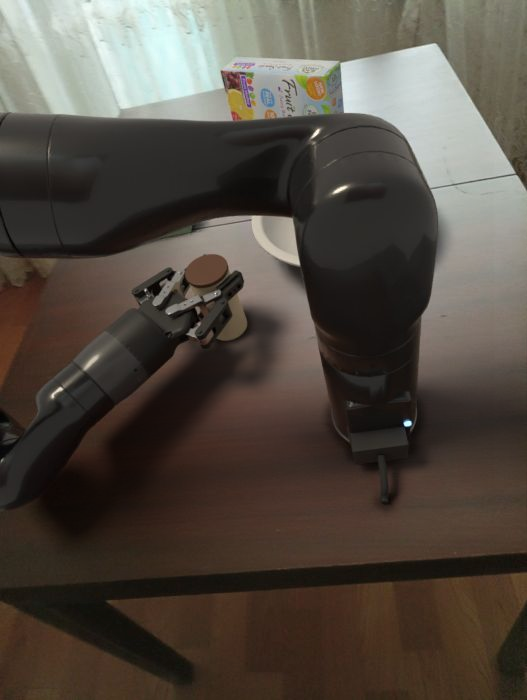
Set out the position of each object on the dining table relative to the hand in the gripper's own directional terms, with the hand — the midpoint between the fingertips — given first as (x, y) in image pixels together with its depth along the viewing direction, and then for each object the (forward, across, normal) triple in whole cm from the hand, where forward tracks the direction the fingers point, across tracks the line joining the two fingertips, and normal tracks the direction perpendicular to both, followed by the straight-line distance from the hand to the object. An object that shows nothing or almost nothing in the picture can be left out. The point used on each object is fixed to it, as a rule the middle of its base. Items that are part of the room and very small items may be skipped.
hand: (224, 268), depth 63 cm
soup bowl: (+19, -3, +9) cm, 21 cm away
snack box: (+36, +21, +9) cm, 42 cm away
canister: (-3, 0, +9) cm, 9 cm away
